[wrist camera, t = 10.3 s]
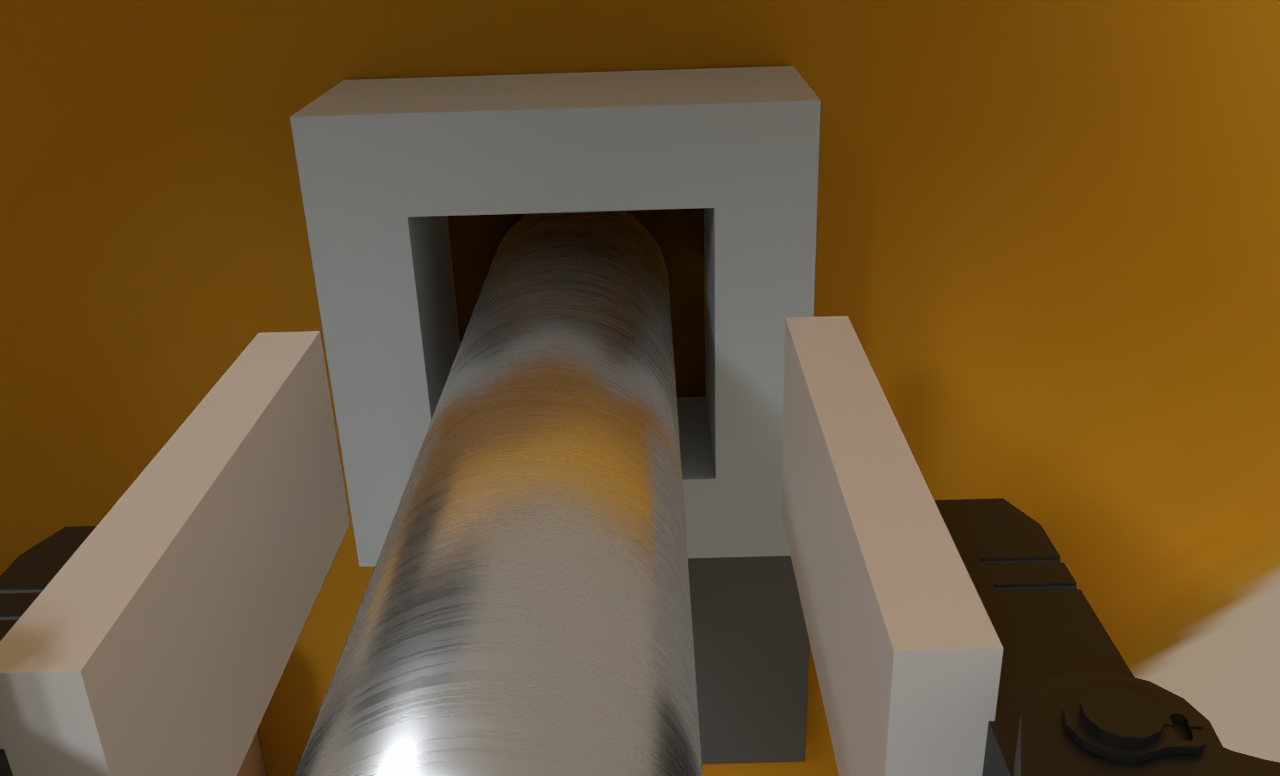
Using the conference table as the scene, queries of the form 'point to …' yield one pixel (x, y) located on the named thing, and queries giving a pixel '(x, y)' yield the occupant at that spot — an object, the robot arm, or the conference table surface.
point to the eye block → (551, 183)
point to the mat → (749, 659)
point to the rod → (535, 538)
